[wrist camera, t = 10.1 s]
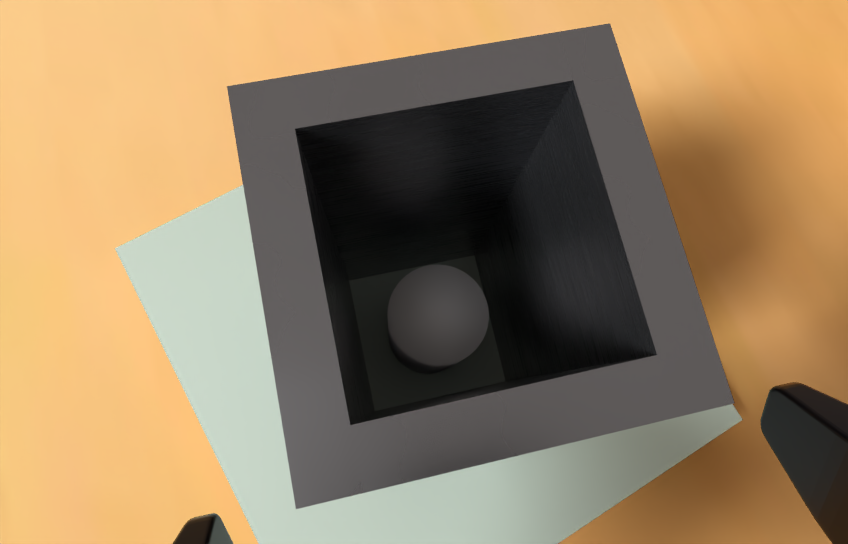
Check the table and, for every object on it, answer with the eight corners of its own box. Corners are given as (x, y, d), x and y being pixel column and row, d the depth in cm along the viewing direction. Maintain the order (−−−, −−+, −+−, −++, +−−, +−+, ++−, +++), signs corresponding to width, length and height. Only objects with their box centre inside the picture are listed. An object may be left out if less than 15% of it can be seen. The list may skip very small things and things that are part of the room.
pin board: (723, 418, 18) (845, 425, 13) (335, 676, 16) (311, 798, 11) (496, 73, 20) (528, -30, 16) (129, 256, 18) (34, 203, 13)
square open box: (537, 402, 17) (735, 403, 7) (353, 444, 16) (296, 508, 7) (492, 226, 18) (609, 23, 8) (318, 261, 18) (227, 86, 8)
